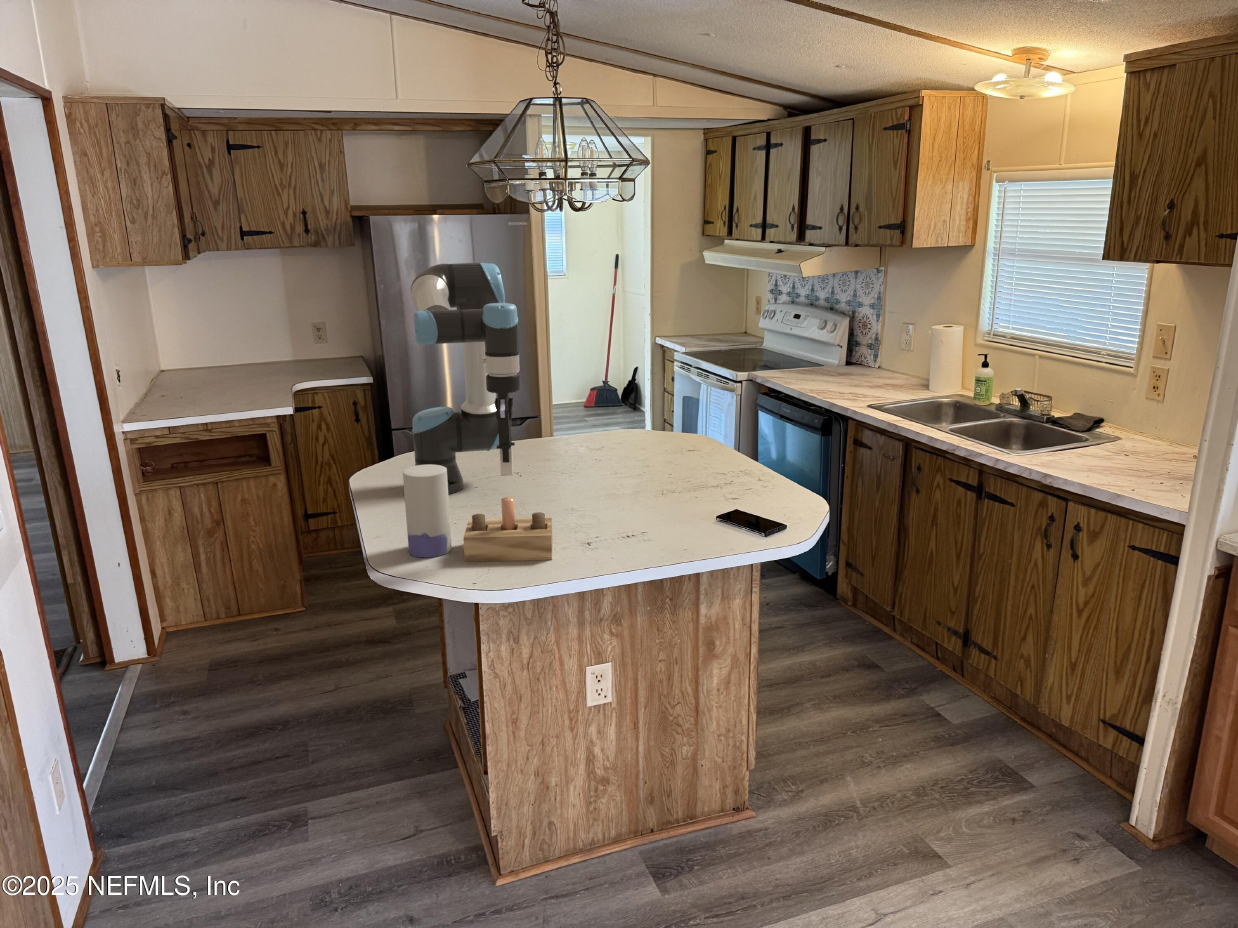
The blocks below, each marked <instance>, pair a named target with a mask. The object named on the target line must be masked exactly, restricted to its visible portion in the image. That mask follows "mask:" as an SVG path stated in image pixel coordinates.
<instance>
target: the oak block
mask: <svg viewBox="0 0 1238 928" xmlns="http://www.w3.org/2000/svg"><path fill="white" fill-rule="evenodd" d="M485 527H486V531H473V526H472V519H468V521H467V525H466V528H465V531H464V535H463V537H462V538H463V551H464V553H463V554H464V562H465V563H473V562H474V563H475V562H476V563H477V562H507V561H508V562H509V561H510V562H511V561H515V562H516V561H536V560H537V561H546V560H549V561H550V560H553V518H552V517H545V529H539V530H533V529H532V517H530V518H529V517H528V518H527V517H525V518H524V517H523V518H522V517H521V518H515V530H503V525H502V518H490V519H489V518H485Z"/></svg>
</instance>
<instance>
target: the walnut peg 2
mask: <svg viewBox="0 0 1238 928" xmlns="http://www.w3.org/2000/svg"><path fill="white" fill-rule="evenodd" d="M531 518H532V529H533V530H539V529H545V518H546V513H544V512H542V511H541V512H539V511H537V512H533V513H531Z"/></svg>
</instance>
